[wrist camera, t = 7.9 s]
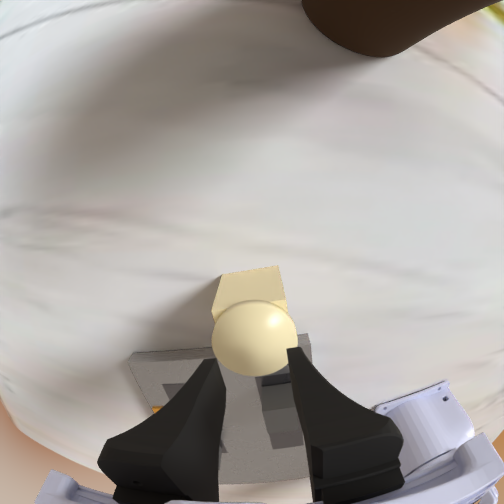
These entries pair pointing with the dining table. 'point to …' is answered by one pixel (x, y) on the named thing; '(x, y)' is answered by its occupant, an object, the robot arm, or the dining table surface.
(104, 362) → the dining table surface
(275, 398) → the block
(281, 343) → the cap
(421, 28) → the olive oil
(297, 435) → the panel
